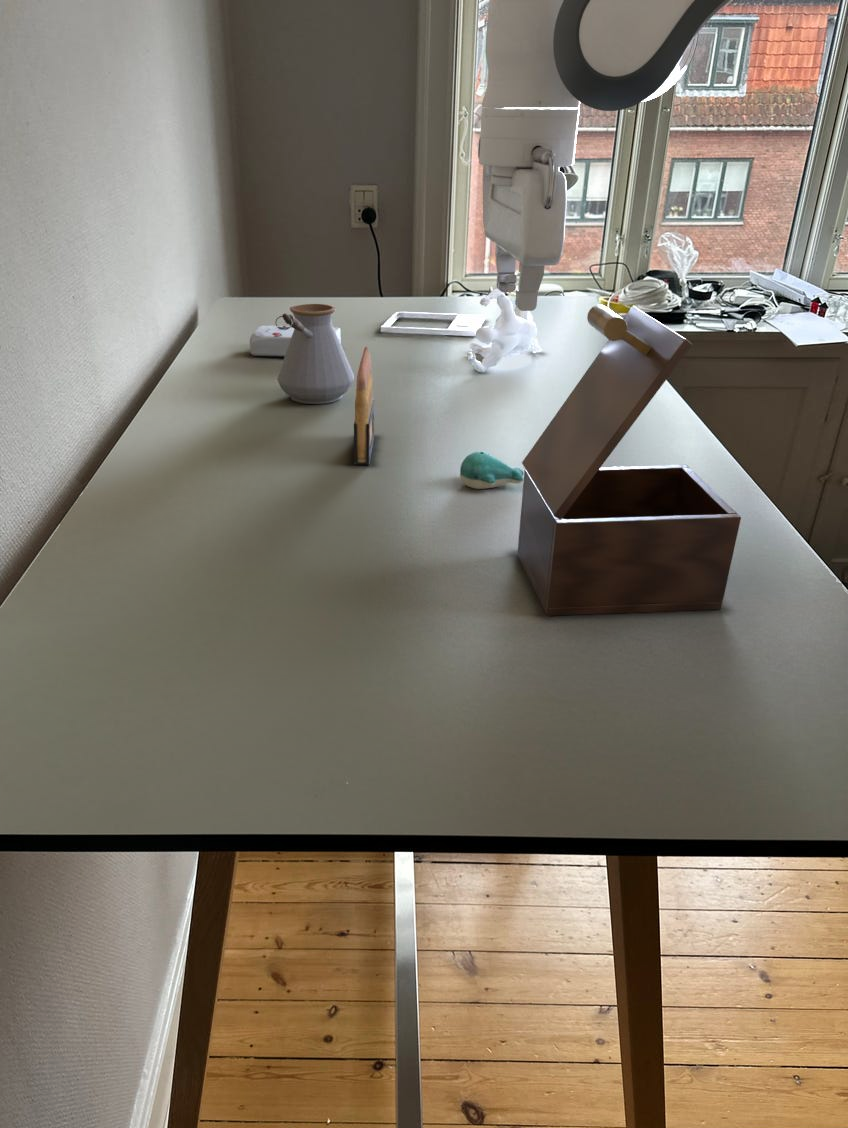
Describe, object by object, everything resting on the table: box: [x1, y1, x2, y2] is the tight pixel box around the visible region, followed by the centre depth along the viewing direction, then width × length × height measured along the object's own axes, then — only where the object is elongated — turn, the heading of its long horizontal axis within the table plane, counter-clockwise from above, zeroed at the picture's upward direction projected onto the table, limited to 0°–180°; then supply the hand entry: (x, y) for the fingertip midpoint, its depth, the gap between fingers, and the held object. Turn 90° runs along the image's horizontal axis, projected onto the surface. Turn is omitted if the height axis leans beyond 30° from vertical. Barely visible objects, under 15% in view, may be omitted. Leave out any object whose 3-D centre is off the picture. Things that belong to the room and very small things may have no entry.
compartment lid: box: [521, 304, 693, 520], centre depth 77 cm, size 16×13×5 cm
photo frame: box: [380, 311, 486, 337], centre depth 179 cm, size 15×1×18 cm
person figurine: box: [465, 288, 543, 373], centre depth 151 cm, size 13×13×18 cm
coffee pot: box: [274, 303, 355, 405], centre depth 130 cm, size 21×12×15 cm, turn 169°
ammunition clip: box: [353, 346, 375, 466], centre depth 114 cm, size 11×2×12 cm, turn 176°
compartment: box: [517, 464, 742, 617], centre depth 84 cm, size 16×13×9 cm
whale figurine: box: [459, 450, 524, 490], centre depth 106 cm, size 6×7×4 cm
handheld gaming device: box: [249, 325, 342, 358], centre depth 161 cm, size 9×15×4 cm, turn 81°
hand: (515, 299), depth 92 cm, fingers open, 8 cm apart
